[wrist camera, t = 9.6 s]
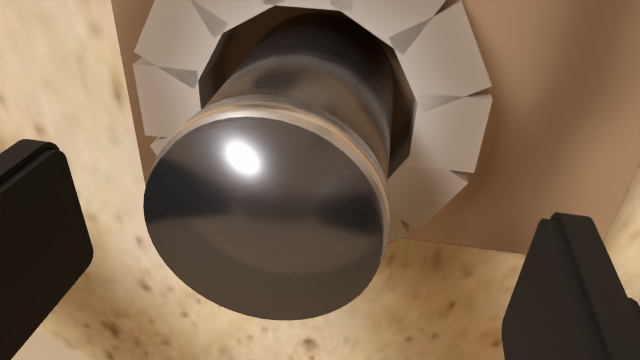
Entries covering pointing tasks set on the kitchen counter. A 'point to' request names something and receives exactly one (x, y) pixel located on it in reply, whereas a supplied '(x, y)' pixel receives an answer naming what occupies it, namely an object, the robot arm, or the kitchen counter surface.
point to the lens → (282, 175)
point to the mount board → (527, 118)
